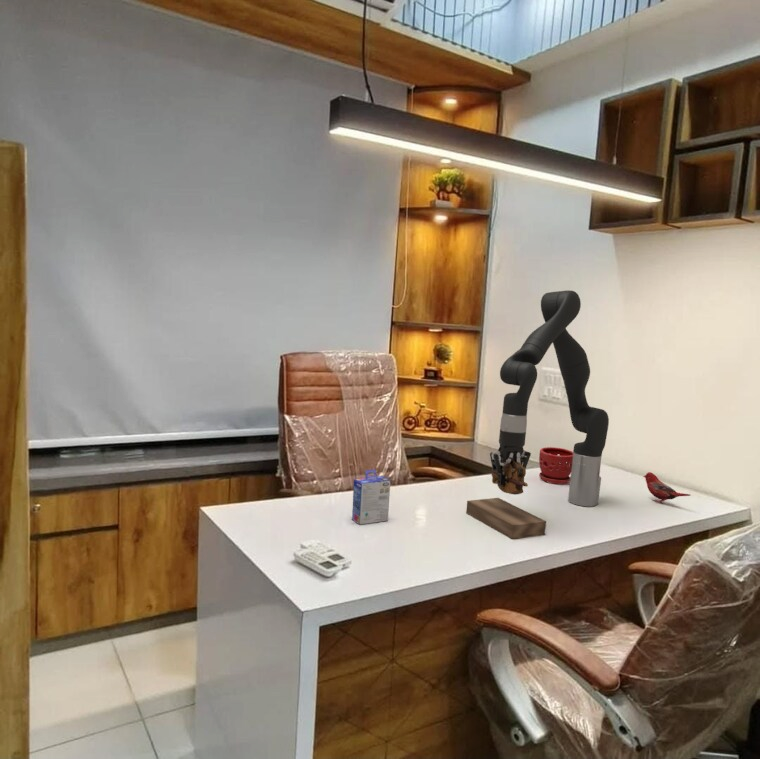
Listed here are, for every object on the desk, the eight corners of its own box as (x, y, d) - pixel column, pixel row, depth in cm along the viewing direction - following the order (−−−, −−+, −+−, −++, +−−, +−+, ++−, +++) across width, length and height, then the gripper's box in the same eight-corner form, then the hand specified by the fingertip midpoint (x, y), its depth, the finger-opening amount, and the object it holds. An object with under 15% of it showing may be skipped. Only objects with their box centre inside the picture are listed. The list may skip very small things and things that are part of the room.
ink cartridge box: (379, 515, 179) (382, 467, 177) (389, 521, 174) (392, 472, 173) (350, 519, 174) (353, 470, 172) (359, 525, 169) (363, 475, 167)
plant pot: (530, 476, 236) (533, 446, 235) (560, 476, 239) (563, 447, 238) (547, 486, 224) (550, 454, 222) (578, 486, 227) (582, 455, 225)
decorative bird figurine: (643, 496, 218) (646, 470, 217) (690, 512, 204) (694, 483, 203) (638, 497, 217) (641, 470, 216) (686, 513, 202) (690, 484, 201)
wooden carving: (484, 484, 185) (488, 453, 184) (496, 484, 186) (500, 453, 185) (517, 501, 170) (522, 467, 169) (530, 501, 172) (534, 467, 171)
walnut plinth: (497, 509, 192) (498, 497, 191) (544, 534, 172) (546, 521, 172) (466, 513, 186) (467, 500, 186) (511, 539, 167) (513, 525, 166)
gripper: (523, 425, 182) (517, 480, 184) (485, 426, 176) (480, 483, 178) (540, 431, 176) (534, 487, 178) (501, 432, 169) (496, 491, 171)
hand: (507, 485), depth 178 cm, fingers closed on wooden carving, 4 cm apart
